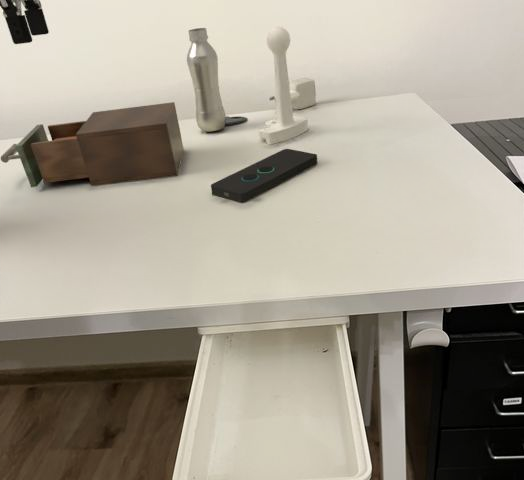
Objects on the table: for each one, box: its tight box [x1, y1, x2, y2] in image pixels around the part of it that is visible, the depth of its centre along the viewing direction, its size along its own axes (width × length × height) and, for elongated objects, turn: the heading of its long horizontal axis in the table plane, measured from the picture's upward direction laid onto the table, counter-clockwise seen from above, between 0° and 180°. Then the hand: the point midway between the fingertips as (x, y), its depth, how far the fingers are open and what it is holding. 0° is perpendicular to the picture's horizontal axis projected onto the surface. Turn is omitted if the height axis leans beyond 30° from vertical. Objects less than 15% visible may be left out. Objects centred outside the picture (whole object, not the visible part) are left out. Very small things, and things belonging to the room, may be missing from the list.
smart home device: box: [210, 148, 318, 204], centre depth 97 cm, size 8×2×20 cm
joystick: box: [258, 26, 309, 145], centre depth 110 cm, size 11×8×20 cm
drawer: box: [0, 120, 89, 188], centre depth 108 cm, size 21×13×8 cm, turn 92°
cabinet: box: [76, 101, 185, 187], centre depth 107 cm, size 17×15×10 cm
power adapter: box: [268, 77, 317, 110], centre depth 129 cm, size 11×5×6 cm, turn 122°
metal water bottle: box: [186, 27, 227, 132], centre depth 118 cm, size 6×7×20 cm
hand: (32, 38), depth 98 cm, fingers open, 9 cm apart
